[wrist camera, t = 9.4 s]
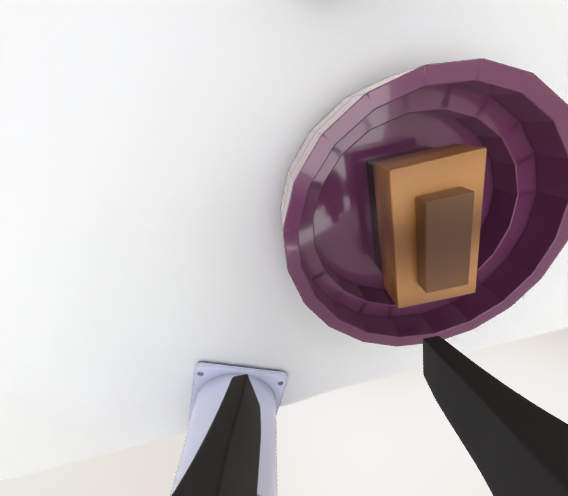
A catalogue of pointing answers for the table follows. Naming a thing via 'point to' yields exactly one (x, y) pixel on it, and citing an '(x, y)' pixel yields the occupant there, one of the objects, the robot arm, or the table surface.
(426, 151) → the scrub brush
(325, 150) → the bowl
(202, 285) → the table surface
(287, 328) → the table surface
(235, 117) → the table surface
